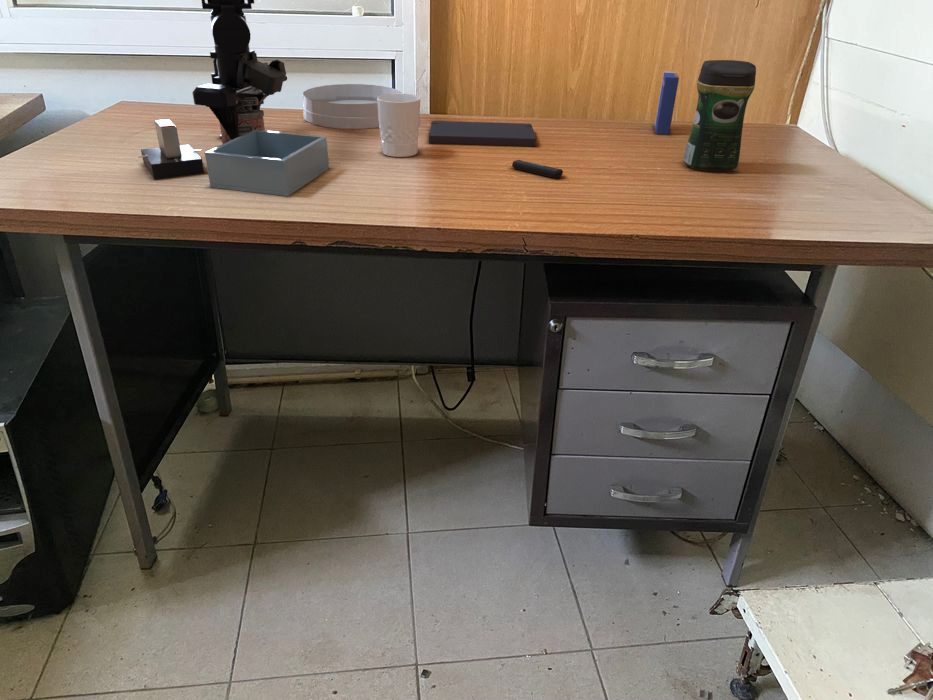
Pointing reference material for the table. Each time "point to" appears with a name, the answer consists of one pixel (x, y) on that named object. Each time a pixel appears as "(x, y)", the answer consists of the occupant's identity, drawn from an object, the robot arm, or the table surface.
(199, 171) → the panel
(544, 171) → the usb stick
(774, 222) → the table surface
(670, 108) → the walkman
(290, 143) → the basin
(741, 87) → the coffee jar
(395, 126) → the white cup
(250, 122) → the lighter
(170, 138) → the red-capped metal block
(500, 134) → the notebook
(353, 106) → the dish
